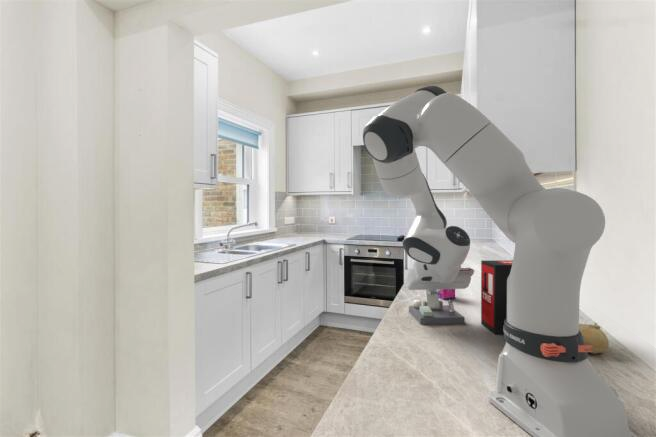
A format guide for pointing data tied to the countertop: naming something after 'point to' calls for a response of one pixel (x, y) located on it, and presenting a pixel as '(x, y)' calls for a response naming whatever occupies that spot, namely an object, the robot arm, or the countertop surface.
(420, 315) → the panel
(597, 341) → the onion
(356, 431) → the countertop surface
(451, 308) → the toggle
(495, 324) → the cleaning product box
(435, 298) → the lever
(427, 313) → the rocker
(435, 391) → the countertop surface
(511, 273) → the robot arm
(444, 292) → the supplement box
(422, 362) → the countertop surface
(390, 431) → the countertop surface
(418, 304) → the button
